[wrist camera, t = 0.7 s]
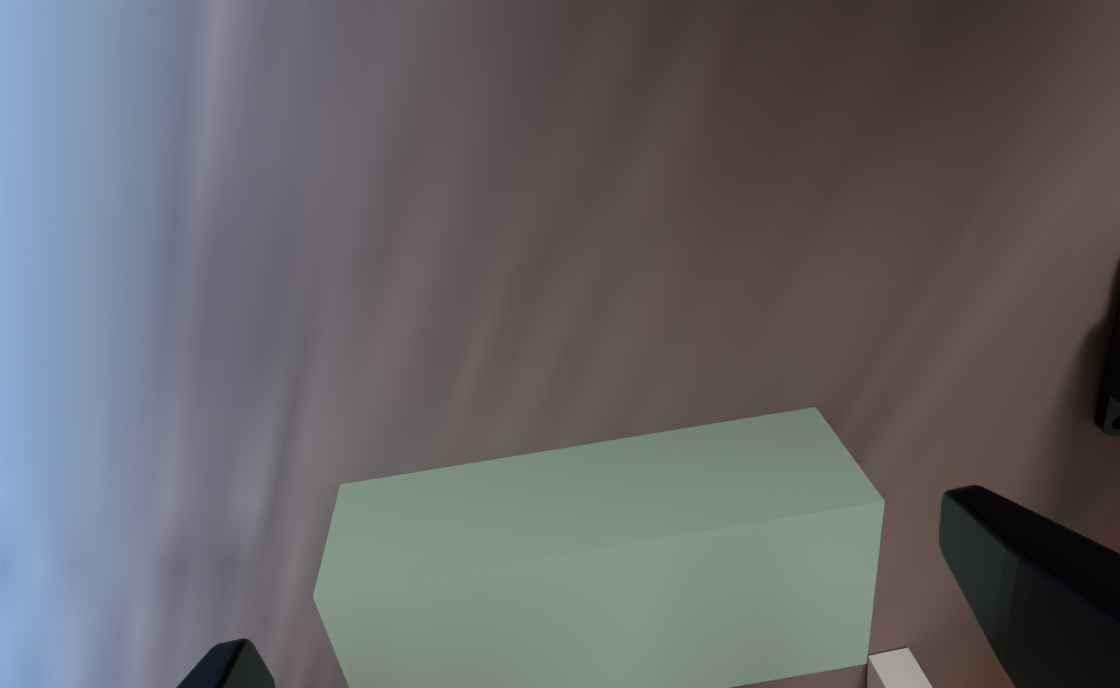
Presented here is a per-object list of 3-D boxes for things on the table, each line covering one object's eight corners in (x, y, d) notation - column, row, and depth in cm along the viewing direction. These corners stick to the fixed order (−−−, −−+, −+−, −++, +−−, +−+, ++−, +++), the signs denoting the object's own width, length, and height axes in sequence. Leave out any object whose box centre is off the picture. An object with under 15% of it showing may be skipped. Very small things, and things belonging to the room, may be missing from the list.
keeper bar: (811, 401, 22) (884, 501, 18) (804, 550, 25) (866, 663, 21) (341, 478, 22) (313, 597, 18) (389, 620, 25) (374, 749, 21)
